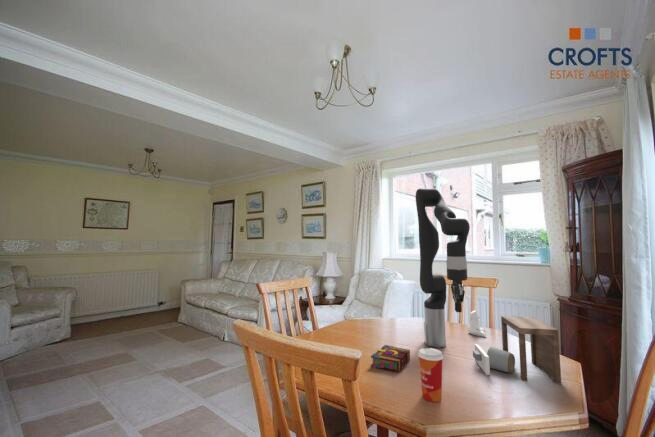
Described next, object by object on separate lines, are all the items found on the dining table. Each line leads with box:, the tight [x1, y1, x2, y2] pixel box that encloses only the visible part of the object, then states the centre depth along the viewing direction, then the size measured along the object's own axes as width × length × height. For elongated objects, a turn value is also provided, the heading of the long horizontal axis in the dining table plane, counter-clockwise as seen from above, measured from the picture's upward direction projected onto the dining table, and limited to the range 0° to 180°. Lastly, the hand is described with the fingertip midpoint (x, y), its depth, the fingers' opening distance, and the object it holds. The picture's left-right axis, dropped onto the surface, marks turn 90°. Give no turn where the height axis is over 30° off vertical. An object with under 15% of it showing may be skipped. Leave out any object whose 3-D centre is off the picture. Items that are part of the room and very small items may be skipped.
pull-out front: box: [472, 343, 491, 376], centre depth 117 cm, size 3×14×6 cm, turn 169°
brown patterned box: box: [370, 344, 411, 373], centre depth 121 cm, size 11×16×5 cm
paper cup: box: [417, 347, 444, 403], centre depth 95 cm, size 8×8×14 cm
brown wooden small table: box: [500, 315, 562, 384], centre depth 114 cm, size 12×18×18 cm, turn 169°
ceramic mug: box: [486, 346, 516, 374], centre depth 116 cm, size 11×8×8 cm
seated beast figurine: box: [467, 310, 487, 338], centre depth 160 cm, size 10×9×12 cm
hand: (458, 311), depth 120 cm, fingers closed
